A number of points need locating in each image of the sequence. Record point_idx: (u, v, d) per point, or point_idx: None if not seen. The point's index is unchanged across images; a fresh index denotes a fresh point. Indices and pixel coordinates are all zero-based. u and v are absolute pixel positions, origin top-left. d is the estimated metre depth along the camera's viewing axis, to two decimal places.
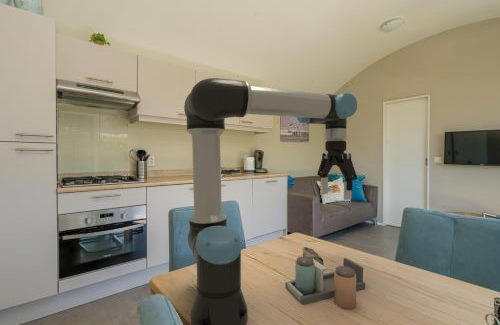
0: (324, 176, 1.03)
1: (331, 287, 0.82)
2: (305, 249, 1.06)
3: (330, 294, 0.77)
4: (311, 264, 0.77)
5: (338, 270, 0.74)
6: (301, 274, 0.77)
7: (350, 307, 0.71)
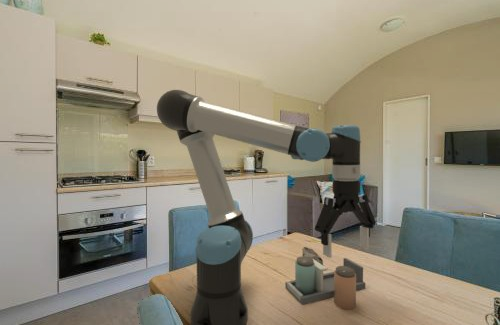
0: (365, 225, 0.76)
1: (331, 287, 0.82)
2: (305, 249, 1.06)
3: (330, 294, 0.77)
4: (311, 264, 0.77)
5: (338, 270, 0.74)
6: (301, 274, 0.77)
7: (350, 307, 0.71)
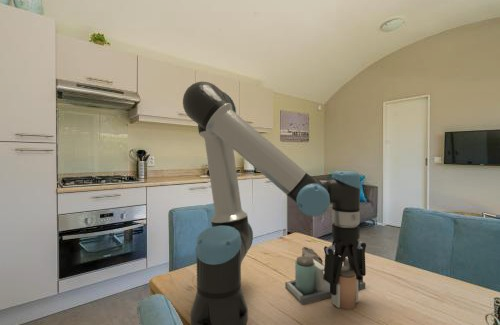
0: None
1: None
2: (304, 249, 1.06)
3: (330, 294, 0.77)
4: (311, 264, 0.77)
5: None
6: (301, 274, 0.77)
7: (350, 307, 0.71)
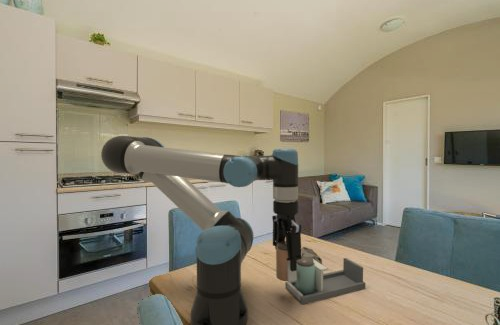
0: None
1: (331, 287, 0.82)
2: (304, 249, 1.06)
3: (330, 294, 0.77)
4: (311, 264, 0.77)
5: None
6: (301, 274, 0.77)
7: None
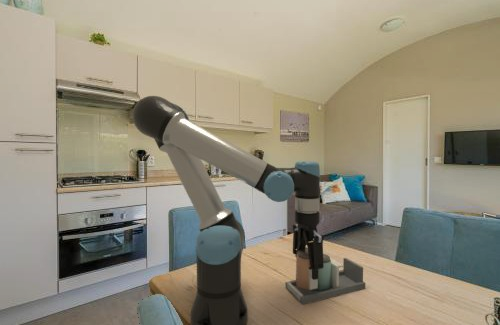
0: None
1: (331, 287, 0.82)
2: None
3: (330, 294, 0.77)
4: (328, 260, 0.80)
5: (307, 255, 0.78)
6: (318, 270, 0.79)
7: None
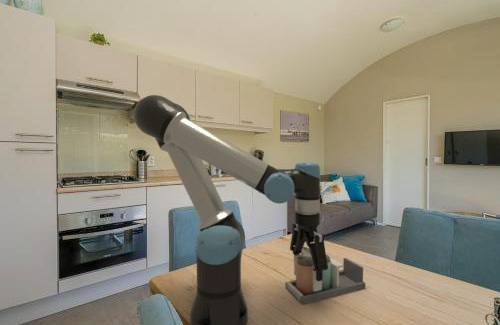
0: (298, 253, 0.85)
1: (331, 287, 0.82)
2: (303, 249, 1.06)
3: (330, 294, 0.77)
4: (328, 261, 0.80)
5: (306, 262, 0.78)
6: None
7: None
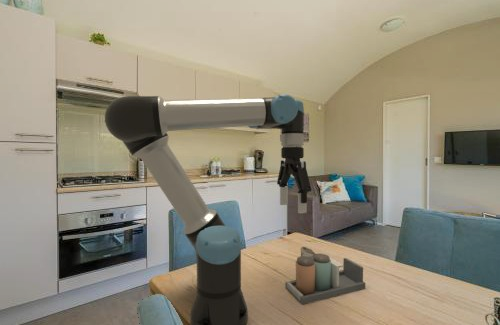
0: (283, 185, 0.93)
1: (331, 287, 0.82)
2: (303, 249, 1.06)
3: (330, 294, 0.77)
4: (327, 261, 0.80)
5: (306, 262, 0.78)
6: (318, 271, 0.79)
7: None
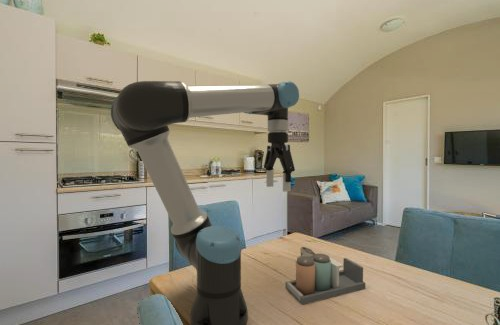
0: (269, 169, 1.02)
1: (331, 287, 0.82)
2: (303, 249, 1.06)
3: (330, 294, 0.77)
4: (327, 261, 0.80)
5: (306, 262, 0.78)
6: (318, 271, 0.79)
7: None
